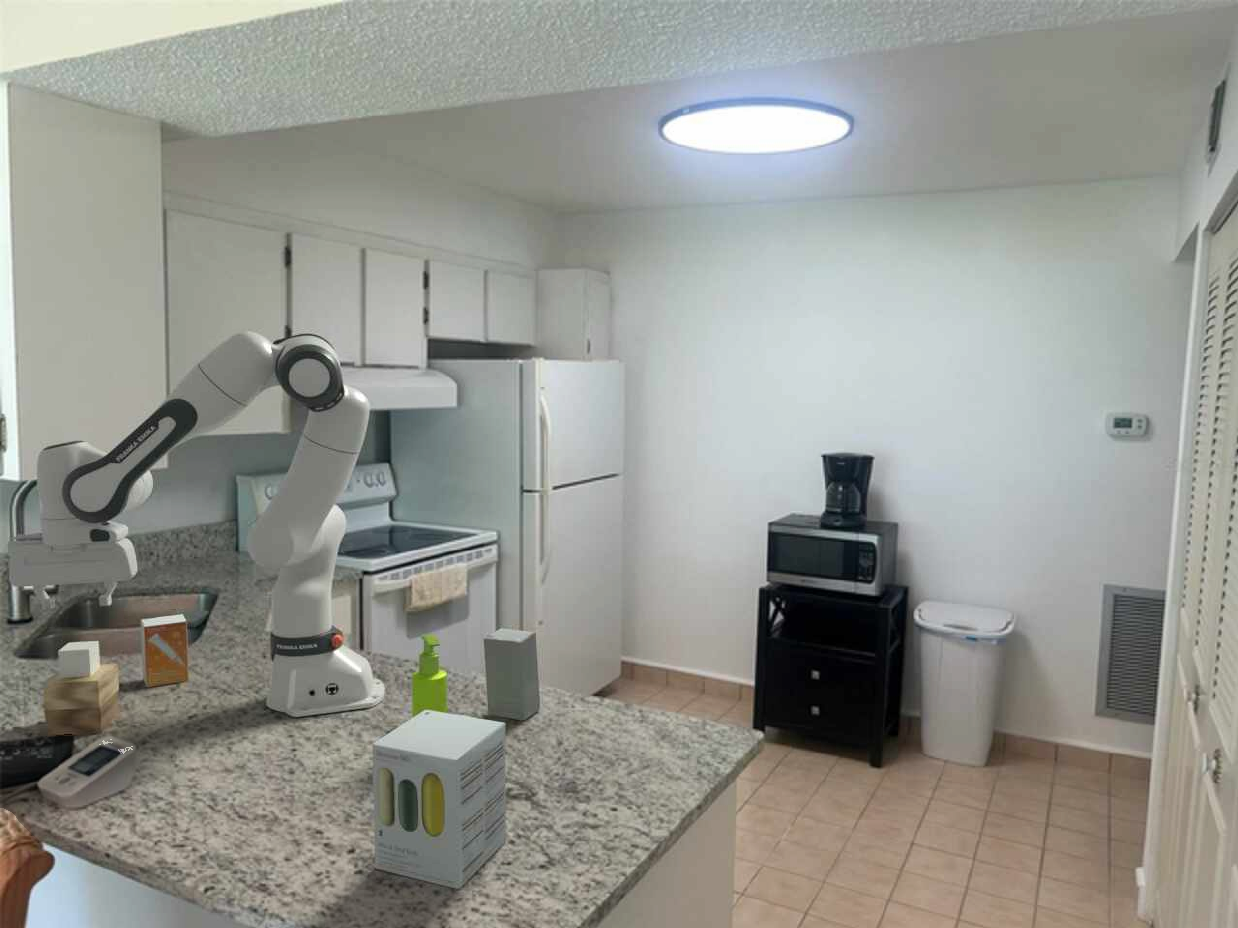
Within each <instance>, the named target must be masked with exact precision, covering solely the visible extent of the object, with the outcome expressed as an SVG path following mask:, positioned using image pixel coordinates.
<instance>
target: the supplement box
mask: <svg viewBox="0 0 1238 928" xmlns="http://www.w3.org/2000/svg"><path fill="white" fill-rule="evenodd" d="M371 746H372V748H371V749H372V781H373V782H372V783H373V785H372V787H373V818H374V820H373V823H374V824H373V825H374V826H373V827H374V859H375V860H374V864H375V865H374V867H375V869H376V870H379V871H384V872H388V873H391V874H396V875H400V876H403V877H408V878H410V879H416V880H420V881H423V882H427V883H432V884H435V885H439V886H442V887H443V886H444V887H448V888H450V889H451V888H452V889H455V890H460V889H461V888H462V887H463V886H464V885H465V884H466V883H467V882H468V881H469V880H470V879H471V877H473V876H474V874H476V873H477V872H478V871H479V869H481V867H483V866H484V864H486V862H487V861H488V860H489V859H490V858H492V856H493V855H494V854H495V853H497V851H498V850H499V849H500V848H501V847H502V846H503V845H504V844H505V843H506V841H507V829H506V828H507V826H506V825H507V823H506V821H507V820H506V818H507V815H506V811H507V810H506V807H507V806H506V805H507V804H506V803H507V802H506V722H504V721H503V722H502V721H495V720H490V719H484V718H483V719H482V718H477V717H472V716H468V715H462V714H456V713H455V714H453V713H448V712H447V713H443V712H437V711H431V710H424V711H423V712H421V713H420V714H418V715H416V716H415V717H413V716H412V718H410V719H408V720H407V721H406V722H404V723H402V724H401V725H398V727H396V728H395V729H393V730H392V731H390V732H389V733H387V734H386V735H384V736H383V737H381V738H379V739H378V740H376V741H375V742H373V743H372V745H371Z"/></svg>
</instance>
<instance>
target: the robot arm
mask: <svg viewBox="0 0 1238 928" xmlns="http://www.w3.org/2000/svg"><path fill="white" fill-rule="evenodd" d="M341 369H342V368H341V361H340V358H339V355H338V354H337V351H336V350H335V348H334V346H333V344H331V343H330V341H328V339H325V338H324V337H322V336H320V335H317V334H315V333H299V334H295V335H292V336H288V337H284V338H280V339H276V340H274V341H273V343H272V342H271V341H270V340H269V339H268V338H267V337H264V336H263V335H261V334H259V333H258V332H254V331H250V330H243V331H239V332H236V334H234V335H232V336H230V337H229V338H228V339H226V340H224V341H223V342H221V343H220V344H219V345H218V346H216V347H215V348H213V350H211V351H210V352H209V353H208V354H206V355H205V356H204V357H203V358H202V359H201V360H199V362H198V363H196V365H194V366H193V368H191V369H190V371H189V372H188V373H187V374H186V375H185V376H184V377H183V378H182V380H180V381H179V383H178V384H177V385H176V387H175V388H174V389H173V390H172V391H171V392H170V393H169V395H168V396H167V397H166V398H165V399H164V400H163V401H162V402H161V404H160V405H159V406H158V407H157V408H156V410H154V411H153V413H152V414H151V415H149V416H148V418H146V420H144V421H143V422H142V423H140V425H139V426H137V427H136V428H134V430H133V431H132V432H131V433H130V434H129V435H127V437H125V438H124V439H123V440H122V441H121V442H119V444H117V445H116V446H115V447H114V448H113V449H111V451H110V452H106V451H103V450H100V449H98V448H96V447H95V446H93V445H91V444H90V443H89V442H87V441H84V440H73V441H68V442H63V443H57V444H54V445H48V446H47V447H44V448H43V449H42V450H41V451H40V452H39V454H38V457H37V462H36V463H37V464H36V465H37V466H36V485H37V486H36V487H37V494H38V495H37V496H38V497H39V501H40V503H41V511H40V515H39V519H40V530H41V532H38V533H29V534H27V533H26V534H25V533H21V534H20V533H19V534H16V535H15V536H14V537H11V538H10V539H9V540H8V542H7V554H8V556H9V563H8V564H9V565H8V580H9V583H10V584H11V585H13V587H16V588H17V587H18V588H20V587H32V590H33V591H32V592H33V593H34V595H35V596H36V597H37V598H38V599H39V600H40V602H41V609H42V610H44V611H45V610H53V609H54V608H55V607H56V603H55V600H56V598H55V597H50V596H49V595H48V593H47V592H46V591H45V590H46V589H47V588H48V587H47V586H55V585H72V584H74V585H75V584H87V583H88V584H89V583H104V586H103V587H104V588H107V589H106V591H105V593H104V594H101V595H100V596H98V601H99V603H98V604H99V606H100V607H107V606H108V607H109V606H111V605H112V602H113V600H112V594H113V593H114V591H115V589H116V587H117V585H118V582H123V581H125V582H126V581H130V580H131V579H132V578H134V577H135V576H136V574H137V573H138V560H137V555H136V551H135V550H136V549H135V546H134V544H133V542H132V541H131V540H130V539H129V538H127V536H128V534H129V526H127V525H126V524H122V523H119V522H114V521H111V520H112V519H114V518H116V517H117V516H119V515H121V514H124V513H126V512H128V511H131V510H133V509H135V508H138V507H140V506H141V505H142V504H144V503H145V502H147V501H148V499H149V498H151V496H152V494H153V492H154V491H153V490H154V485H155V484H154V483H155V482H154V481H155V480H154V477H153V474H152V472H151V469H152V468H153V467H154V466H155V465H156V464H158V463H159V461H160V460H162V459H163V458H164V457H165V456H167V454H168V453H170V452H171V451H172V450H174V449H175V448H176V447H178V446H179V445H181V444H183V443H185V442H187V441H190V440H191V439H194V438H197V437H198V436H201V435H204V434H207V433H210V432H213V431H215V430H217V429H219V428H221V427H222V426H225V425H226V424H227V423H229V422H230V421H231V420H233V419H234V418H235V417H237V416H238V415H239V414H240V413H241V412H243V411H244V410H245V409H246V408H247V407H248V406H250V404H251V403H252V402H253V401H254V400H255V399H256V398H257V397H258V396H259V395H260V394H262V393H263V392H264V391H266V390H268V389H270V388H272V387H281V389H282V390H283V392H285V393H286V394H287V395H288V396H289V397H290V398H292V399H293V400H294V401H296V402H297V403H299V404H301V405H302V406H303V407H305V408H307V409H309V410H308V411H309V412H308V417H307V419H306V423H305V425H304V428H303V431H302V433H301V435H300V436H301V437H300V439H299V443H298V445H297V448H296V450H295V453H294V456H293V459H292V461H291V464H290V467H289V469H288V471H287V472H286V475H285V477H284V479H283V480H282V481H281V484H280V486H279V487H278V489H277V490H276V491H275V494H274V495H273V496H272V499H271V500H270V502H269V503H268V505H267V507H266V509H265V510H264V512H263V513H262V514H261V515H260V517H259V518H258V519H257V520H256V521H255V522H254V524H252V525H251V526H250V528H249V530H248V531H247V535H246V548H247V551H248V555H249V556H250V558H251V559H252V560H253V561H254V562H255V563H256V564H257V565H259V566H261V567H263V568H266V569H273V570H274V569H280V571H279V574H278V578H277V580H276V582H275V584H274V586H273V588H272V591H271V595H270V596H271V597H270V599H271V602H270V603H271V604H270V605H271V625H272V626H271V628H272V630H271V632H270V635H269V656H270V659H271V663H272V664H271V675H270V682H269V683H270V684H269V688H268V693H267V697H266V700H265V705H266V706H267V708H269V709H272V710H274V711H276V712H277V711H278V712H280V713H284V714H287V715H288V716H290V717H293V718H299V717H300V718H301V717H307V716H313V715H321V714H322V715H323V714H330V713H338V712H345V711H351V710H352V711H353V710H354V711H355V710H360V709H368V708H372V707H375V706H377V705H378V704H380V702H381V701H382V700H383V699H384V697H385V692H386V690H385V685H384V683H383V681H382V680H380V679H379V678H374V674H373V670H372V667H371V664H370V663H369V661H368V659H367V658H365V657H364V656H363V655H360V654H359V653H357V652H355V651H354V650H353V649H351V648H349V647H347V646H346V645H344V644H343V643H344V633H343V628H342V627H339V628H338V627H335V626H334V625H333V624H332V623H333V622H332V618H333V617H332V586H333V579H334V573H335V568H336V563H337V558H338V552H339V548H340V545H341V542H342V539H343V538H344V536H345V534H346V531H347V519H346V515H345V514H344V512H343V510H342V509H341V507H339V506H338V505H337V504H336V503H337V502H338V500H339V499H340V497H341V496H342V495H343V494H344V493H345V491H346V490H347V489H348V488H347V487H348V486H349V484H350V480H351V477H352V474H353V472H354V469H355V467H356V465H357V462H358V458H359V455H360V452H361V450H362V447H363V443H364V441H365V437H366V434H367V433H366V432H367V428H368V424H369V420H370V419H369V418H370V410H371V405H370V404H371V403H370V402H369V399H368V398H367V397H366V396H365V395H364V394H363V393H362V392H361V391H360V390H358V389H356V388H355V387H352V386H348V385H347V384H346V383H344V381H343V376H342V370H341Z"/></svg>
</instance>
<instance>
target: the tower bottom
mask: <svg viewBox="0 0 1238 928" xmlns="http://www.w3.org/2000/svg"><path fill="white" fill-rule="evenodd" d="M119 714H120V707H119V690H118V691H117V692H116V693H115V694H114V695H113V696H112V697H110V698H109V699H108V700H107V701H106V702H105V703H104V704H103V705H102V706H101V707H100V708H84V709H64V710H45V709H44V718H45V719H44V720H45V733H46V734H45V735H46V736H47V737H56V736H55V735H60V734H72V735H71V736H74V735H75V736H76V735H90V734H102V733H103V732H104V731H105V730H106V729H107V727H108V726H110V724H112V722H113V721H114V720H115V719H116V717H118V715H119Z"/></svg>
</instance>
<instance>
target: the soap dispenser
mask: <svg viewBox="0 0 1238 928" xmlns="http://www.w3.org/2000/svg"><path fill="white" fill-rule="evenodd" d="M420 638H421V640H423V651H422V652H421V653H419V655H418V670H416V671H415V672H413V673H412V674H411V698H412V699H411V702H412V703H411V704H412V706H411V708H412V709H411V710H412V718H413V717H415V716H416V715H418V714H420V713H421V712H423V711H424V710H431V711H437V712H443V713H448V691H447V690H448V685H447V684H448V683H447V675H448V674H447V672H446V670H443V669H440V655H439V652H437V651H435V647H437V646H441V642H440V640H439V639H438V637H437V636H436V635H435V634H433V633H426V634H421V635H420Z"/></svg>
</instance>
